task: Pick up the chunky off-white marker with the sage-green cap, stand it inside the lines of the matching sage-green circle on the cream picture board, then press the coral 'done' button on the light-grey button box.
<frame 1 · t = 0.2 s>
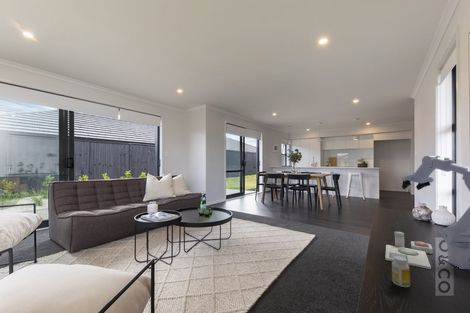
hand: (410, 188, 124), 31 cm above the table, tool tilted 45°, fingers open, 7 cm apart
picture board: (405, 256, 104), on the table
done button: (421, 244, 112), point 3 cm above the table, slide at 0.0 cm
marker: (399, 246, 116), on the table
button box: (421, 249, 111), on the table
supplement bottle: (401, 284, 81), on the table
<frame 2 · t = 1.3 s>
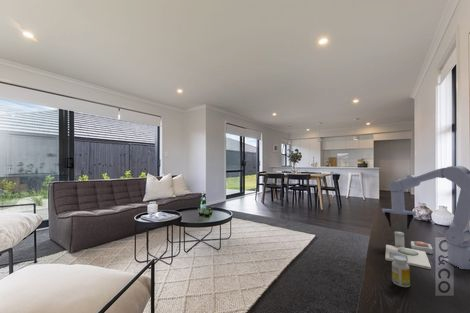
hand: (399, 227, 116), 10 cm above the table, tool pointing down, fingers open, 7 cm apart
nothing on the table moved.
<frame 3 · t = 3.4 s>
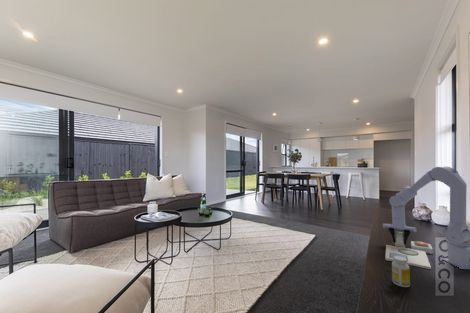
hand: (399, 242, 116), 2 cm above the table, tool pointing down, fingers closed on marker, 4 cm apart
marker: (399, 246, 116), on the table, touching gripper
everything else where it was.
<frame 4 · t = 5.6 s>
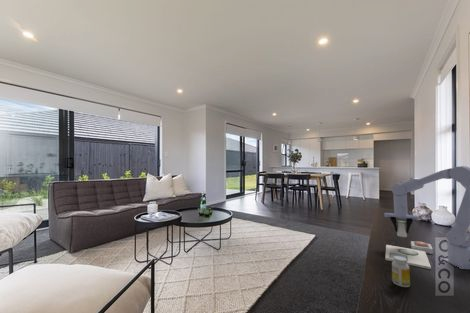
hand: (401, 232, 113), 9 cm above the table, tool pointing down, fingers closed on marker, 4 cm apart
marker: (402, 235, 113), point 7 cm above the table, touching gripper
everything else where it was.
when the fingers open (5 cm above the table, at t = 7.8 s): marker drops 1 cm, resting on picture board.
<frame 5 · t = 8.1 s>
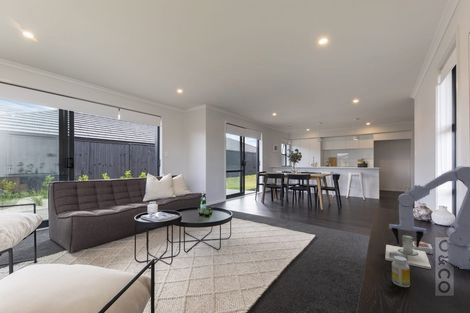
hand: (407, 245, 106), 5 cm above the table, tool pointing down, fingers open, 7 cm apart
marker: (408, 251, 106), point 1 cm above the table, touching picture board
everything else where it was.
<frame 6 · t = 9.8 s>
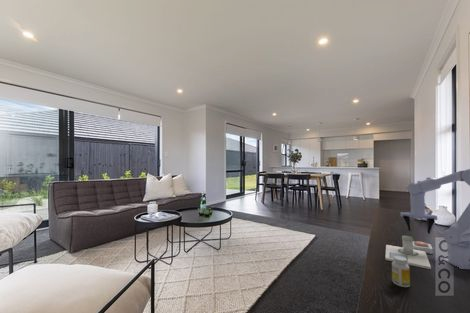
hand: (418, 231, 111), 10 cm above the table, tool pointing down, fingers open, 7 cm apart
nothing on the table moved.
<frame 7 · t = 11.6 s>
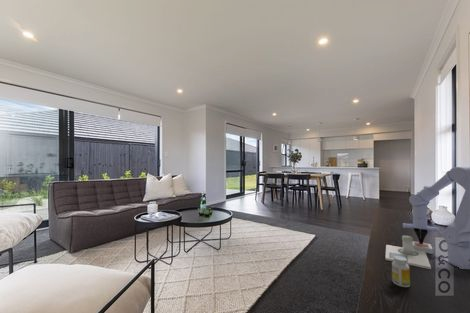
hand: (421, 243, 112), 3 cm above the table, tool pointing down, fingers closed, pressing on done button
done button: (421, 244, 111), point 3 cm above the table, slide at 0.2 cm, touching gripper
everything else where it was.
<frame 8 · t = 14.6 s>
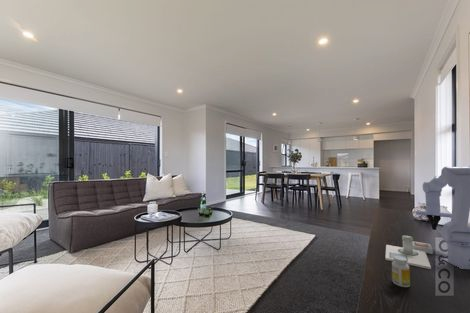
hand: (434, 229, 115), 9 cm above the table, tool pointing down, fingers closed
done button: (421, 245, 111), point 2 cm above the table, slide at 0.8 cm
everything else where it was.
at the end: marker 0.0 cm from the target spot, point 1.1 cm above the table; marker tilted 0°; done button slide at 0.8 cm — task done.
